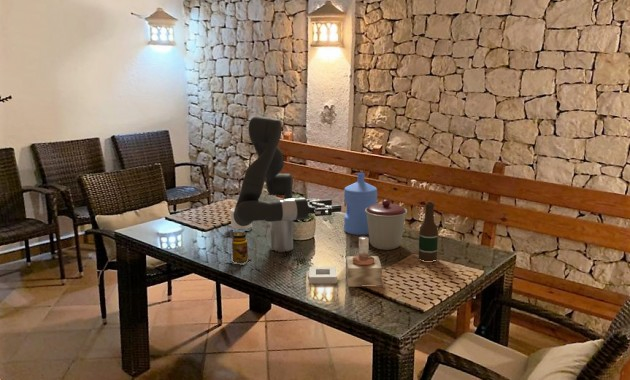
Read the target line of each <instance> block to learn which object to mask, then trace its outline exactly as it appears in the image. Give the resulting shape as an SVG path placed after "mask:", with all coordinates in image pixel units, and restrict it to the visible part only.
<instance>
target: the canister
mask: <svg viewBox="0 0 630 380" xmlns="http://www.w3.org/2000/svg"><path fill="white" fill-rule="evenodd" d="M365 212H366V213H367V223H368V233H369V234H368V238H369V244H370V246H371V247H373V248H375V249H378V250H382V251H389V250H396V249H398V248H399V247H400V245H401V244H402V240H403V235H404V227H405V221H406V220H405V219H406V214H407V213H408V209H406V208H405V207H404V206H402V205H399V204H396V203H391V201H390V200H389V199H383V200H382V202H381V203H377V204H374V205H371V206H369V207H367V208H366V209H365Z"/></svg>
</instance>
